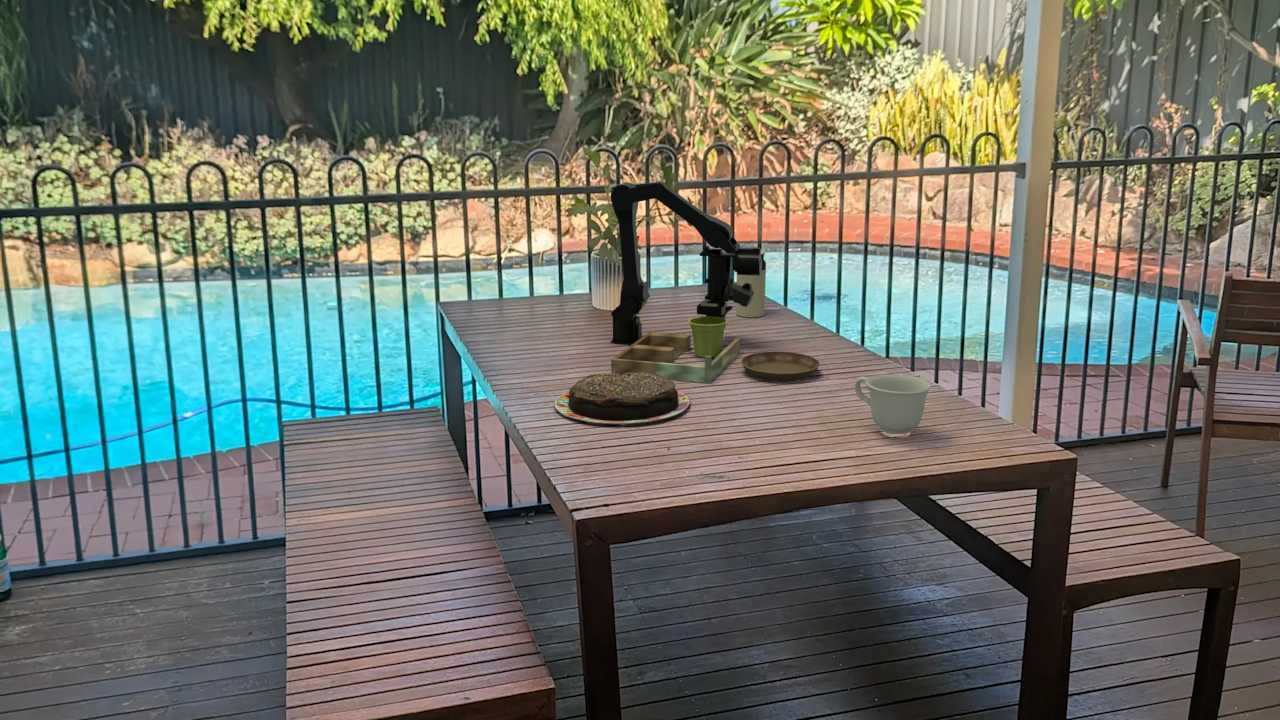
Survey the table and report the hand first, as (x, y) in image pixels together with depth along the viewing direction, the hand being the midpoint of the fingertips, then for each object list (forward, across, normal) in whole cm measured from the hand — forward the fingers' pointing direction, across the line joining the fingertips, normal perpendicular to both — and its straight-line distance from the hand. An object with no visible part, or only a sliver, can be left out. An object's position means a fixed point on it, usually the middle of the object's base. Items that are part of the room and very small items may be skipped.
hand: (717, 336), depth 270 cm
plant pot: (+3, -10, 0) cm, 10 cm away
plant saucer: (+3, -20, -20) cm, 28 cm away
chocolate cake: (+3, -54, +6) cm, 54 cm away
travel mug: (+3, +36, 0) cm, 36 cm away
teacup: (+3, -54, -48) cm, 72 cm away
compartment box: (+2, -19, +5) cm, 19 cm away
